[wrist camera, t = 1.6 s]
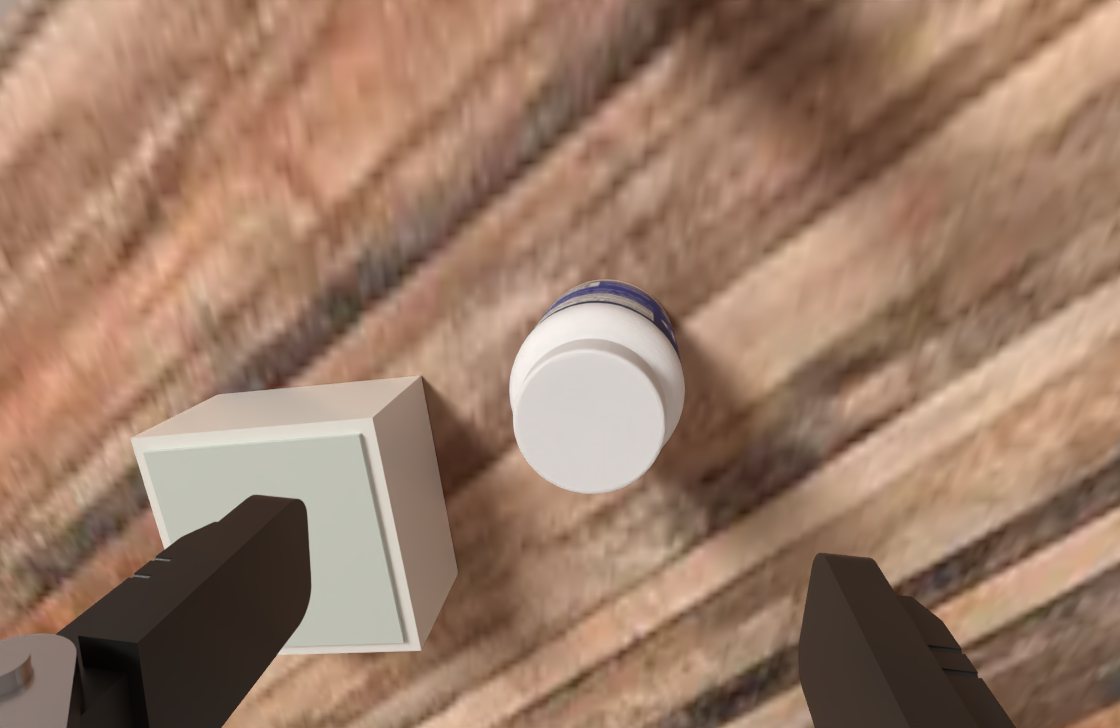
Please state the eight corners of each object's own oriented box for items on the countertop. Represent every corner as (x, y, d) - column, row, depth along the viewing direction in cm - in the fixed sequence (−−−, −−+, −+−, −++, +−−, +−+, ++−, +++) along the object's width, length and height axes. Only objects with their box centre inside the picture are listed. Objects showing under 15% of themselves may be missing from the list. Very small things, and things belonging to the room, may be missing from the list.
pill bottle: (667, 417, 26) (678, 532, 18) (535, 403, 27) (483, 508, 18) (684, 282, 25) (705, 336, 16) (543, 270, 25) (491, 315, 17)
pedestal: (421, 375, 27) (370, 419, 22) (458, 573, 29) (419, 654, 24) (218, 394, 28) (126, 440, 23) (268, 582, 30) (194, 660, 25)
